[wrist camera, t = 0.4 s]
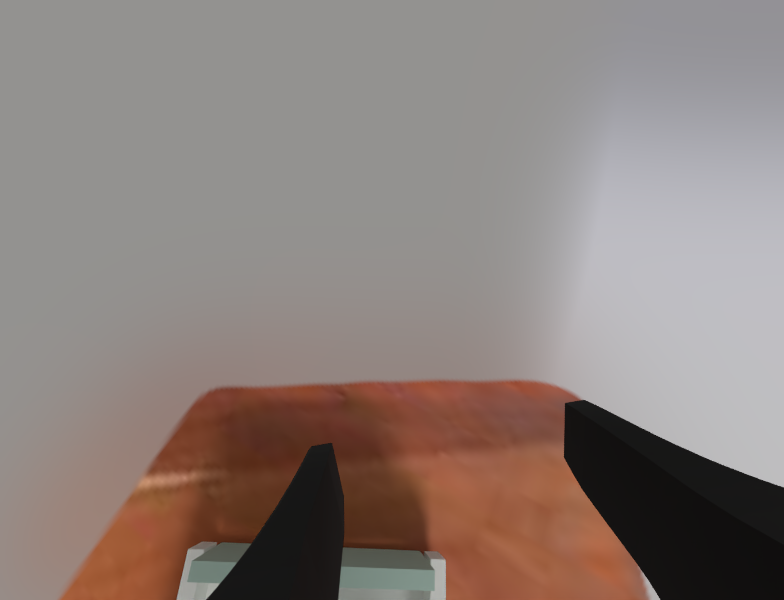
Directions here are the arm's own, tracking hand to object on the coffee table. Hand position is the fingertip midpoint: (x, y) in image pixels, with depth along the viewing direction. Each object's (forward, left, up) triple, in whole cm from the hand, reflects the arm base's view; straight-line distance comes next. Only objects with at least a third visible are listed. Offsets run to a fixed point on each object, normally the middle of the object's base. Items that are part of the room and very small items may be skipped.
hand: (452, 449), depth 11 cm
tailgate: (-7, +5, -26) cm, 28 cm away
